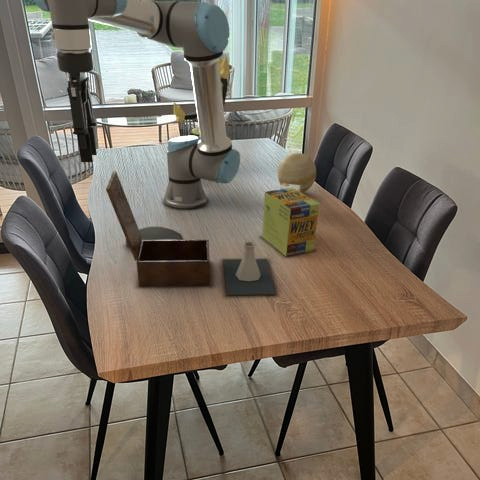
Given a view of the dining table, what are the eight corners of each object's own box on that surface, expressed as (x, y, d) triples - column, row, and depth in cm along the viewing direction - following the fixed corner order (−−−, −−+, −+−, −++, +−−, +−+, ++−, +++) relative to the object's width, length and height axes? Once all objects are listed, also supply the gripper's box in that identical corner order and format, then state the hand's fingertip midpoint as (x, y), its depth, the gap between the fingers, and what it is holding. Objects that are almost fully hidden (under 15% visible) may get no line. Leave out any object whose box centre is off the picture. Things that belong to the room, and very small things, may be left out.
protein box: (286, 257, 154) (290, 208, 145) (261, 237, 165) (264, 191, 156) (314, 250, 158) (320, 203, 149) (288, 231, 169) (292, 186, 161)
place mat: (223, 260, 151) (223, 259, 151) (266, 260, 152) (266, 259, 152) (226, 296, 135) (226, 294, 134) (275, 295, 136) (275, 294, 135)
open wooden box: (208, 263, 150) (208, 239, 145) (209, 285, 139) (209, 261, 134) (143, 263, 148) (140, 239, 144) (139, 286, 137) (136, 261, 133)
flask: (234, 269, 146) (235, 238, 140) (259, 269, 146) (261, 237, 141) (236, 282, 140) (237, 250, 134) (262, 282, 140) (264, 249, 135)
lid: (115, 170, 132) (113, 171, 132) (108, 188, 121) (105, 189, 121) (142, 238, 144) (139, 238, 144) (137, 260, 133) (134, 260, 133)
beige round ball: (321, 195, 198) (326, 157, 189) (288, 201, 192) (291, 161, 183) (301, 183, 209) (304, 146, 200) (269, 188, 203) (271, 150, 194)
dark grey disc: (158, 259, 150) (157, 250, 149) (121, 247, 156) (120, 238, 155) (187, 242, 161) (187, 233, 159) (151, 230, 167) (150, 222, 165)
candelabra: (174, 171, 216) (169, 53, 190) (204, 159, 232) (203, 48, 206) (211, 180, 208) (210, 58, 182) (239, 167, 224) (242, 52, 198)
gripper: (65, 45, 117) (80, 147, 131) (46, 56, 103) (65, 170, 116) (98, 46, 118) (109, 147, 131) (84, 57, 103) (99, 170, 116)
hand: (89, 157), depth 123 cm, fingers open, 5 cm apart
